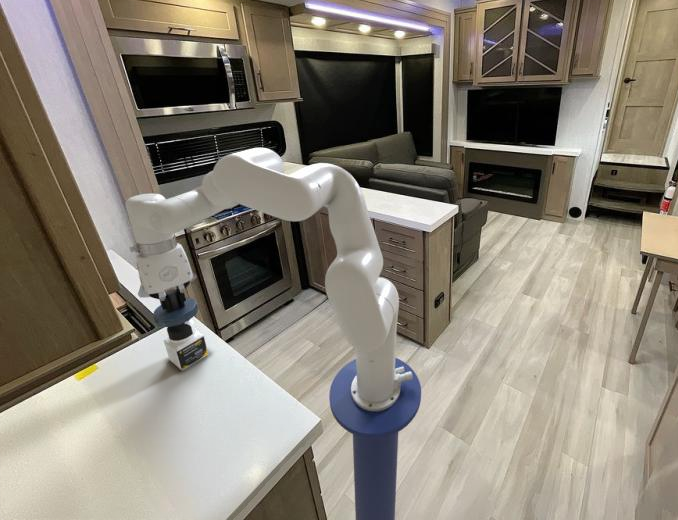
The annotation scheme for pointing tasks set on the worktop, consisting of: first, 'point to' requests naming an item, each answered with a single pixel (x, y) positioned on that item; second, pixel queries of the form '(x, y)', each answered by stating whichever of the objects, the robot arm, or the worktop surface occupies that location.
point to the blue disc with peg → (175, 311)
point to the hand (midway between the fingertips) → (174, 306)
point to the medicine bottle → (185, 345)
